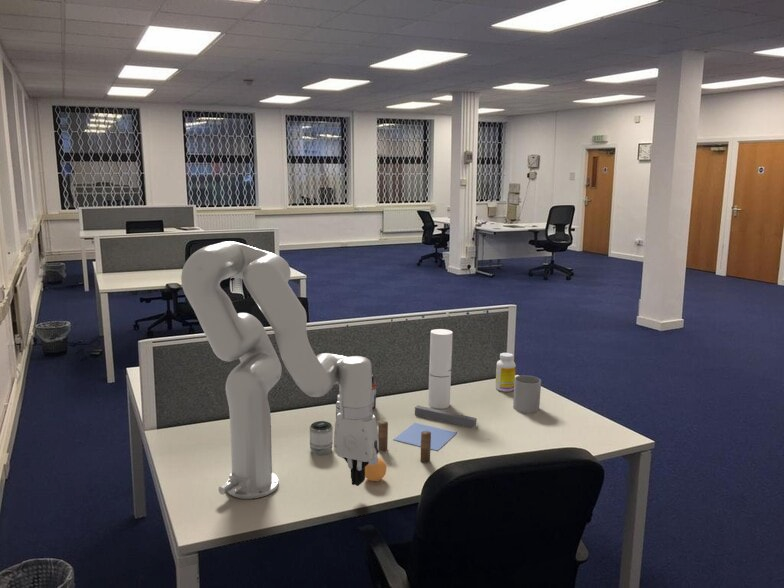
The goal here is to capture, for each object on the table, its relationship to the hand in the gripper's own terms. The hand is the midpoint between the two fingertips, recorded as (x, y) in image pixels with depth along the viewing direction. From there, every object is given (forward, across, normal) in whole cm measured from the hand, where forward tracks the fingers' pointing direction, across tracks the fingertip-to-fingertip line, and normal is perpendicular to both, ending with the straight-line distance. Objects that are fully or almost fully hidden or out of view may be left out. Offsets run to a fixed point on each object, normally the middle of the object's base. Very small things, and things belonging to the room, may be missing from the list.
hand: (358, 482), depth 150 cm
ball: (+1, -1, +9) cm, 9 cm away
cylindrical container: (+4, -8, +64) cm, 65 cm away
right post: (+4, +6, +25) cm, 26 cm away
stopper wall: (+4, -1, +53) cm, 53 cm away
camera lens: (+3, -22, +16) cm, 27 cm away
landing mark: (+4, -1, +39) cm, 39 cm away
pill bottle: (+4, -25, +33) cm, 42 cm away
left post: (+4, -8, +25) cm, 27 cm away
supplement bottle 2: (+5, +6, +90) cm, 91 cm away
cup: (+5, +18, +76) cm, 78 cm away
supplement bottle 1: (+4, -27, +49) cm, 56 cm away
